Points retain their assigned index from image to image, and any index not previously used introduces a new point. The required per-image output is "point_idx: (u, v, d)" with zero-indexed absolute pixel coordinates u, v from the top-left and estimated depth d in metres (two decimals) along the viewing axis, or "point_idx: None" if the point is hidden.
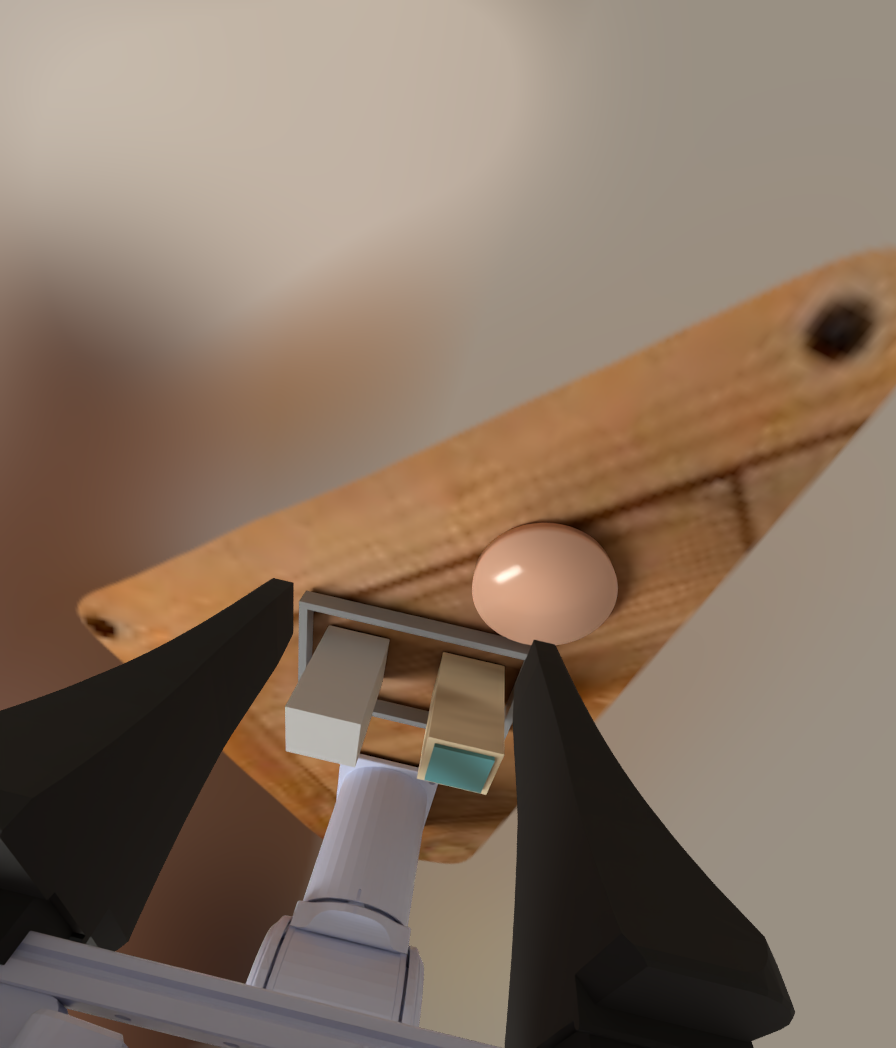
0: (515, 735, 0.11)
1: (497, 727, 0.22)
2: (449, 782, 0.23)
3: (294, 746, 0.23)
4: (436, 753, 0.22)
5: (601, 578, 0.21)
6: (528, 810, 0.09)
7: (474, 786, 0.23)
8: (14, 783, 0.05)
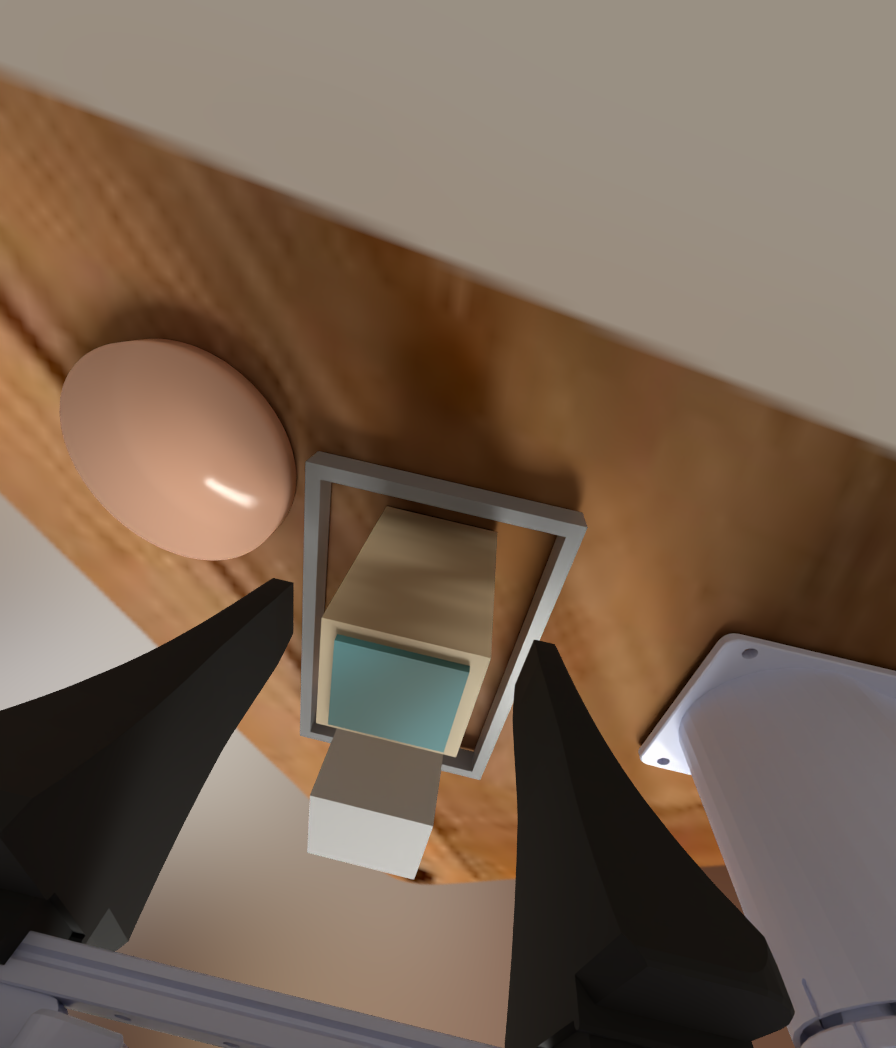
0: (515, 735, 0.11)
1: None
2: (441, 718, 0.10)
3: (398, 869, 0.15)
4: (347, 723, 0.11)
5: (104, 376, 0.12)
6: (528, 810, 0.09)
7: (443, 680, 0.10)
8: (14, 783, 0.05)
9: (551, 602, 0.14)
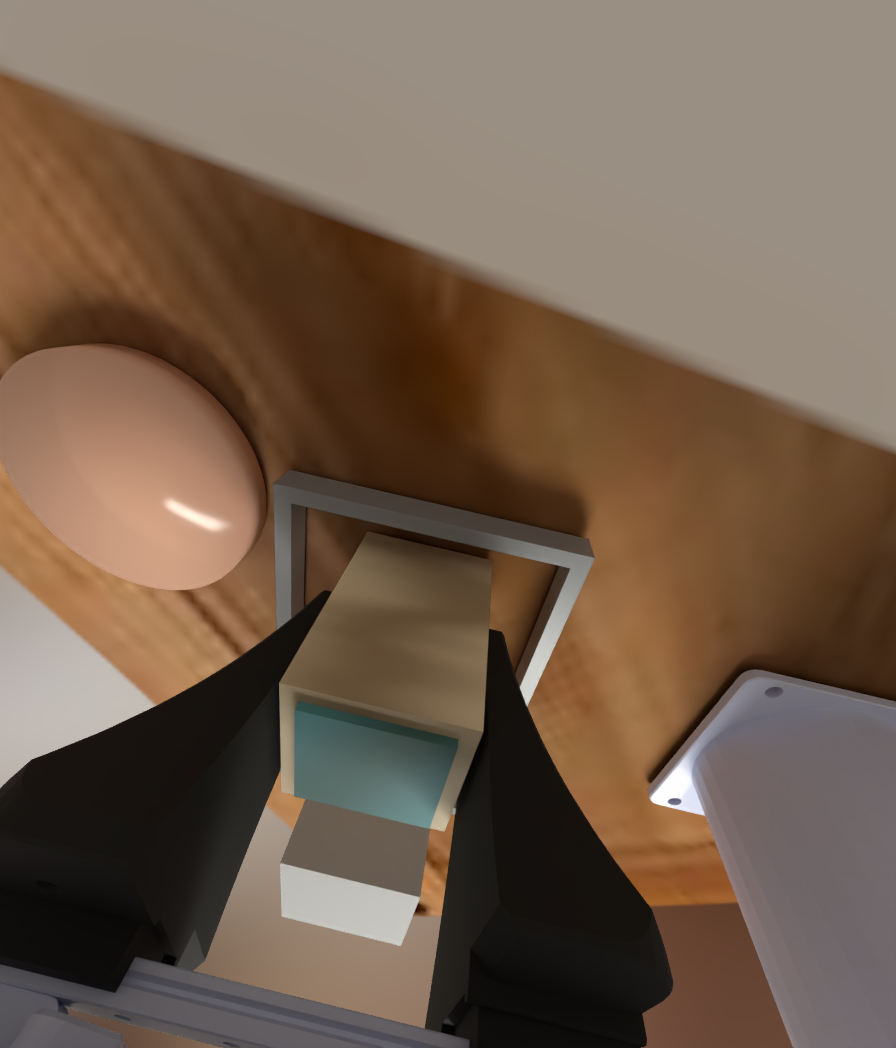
0: None
1: None
2: (425, 794, 0.09)
3: (383, 935, 0.13)
4: (316, 796, 0.09)
5: (39, 387, 0.11)
6: (462, 794, 0.09)
7: (427, 756, 0.08)
8: (130, 811, 0.05)
9: (553, 638, 0.13)
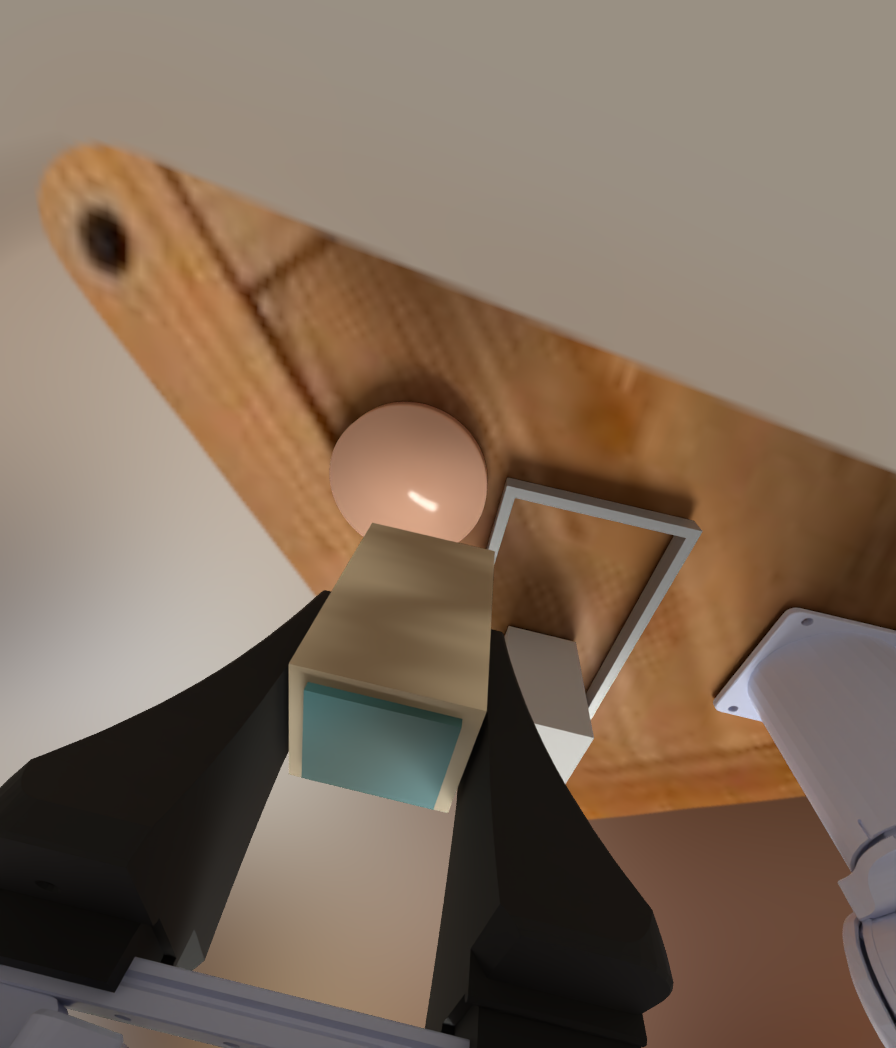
0: None
1: None
2: (429, 774, 0.09)
3: None
4: (323, 778, 0.10)
5: (375, 428, 0.18)
6: (463, 794, 0.09)
7: (432, 735, 0.08)
8: (130, 811, 0.05)
9: (667, 584, 0.20)
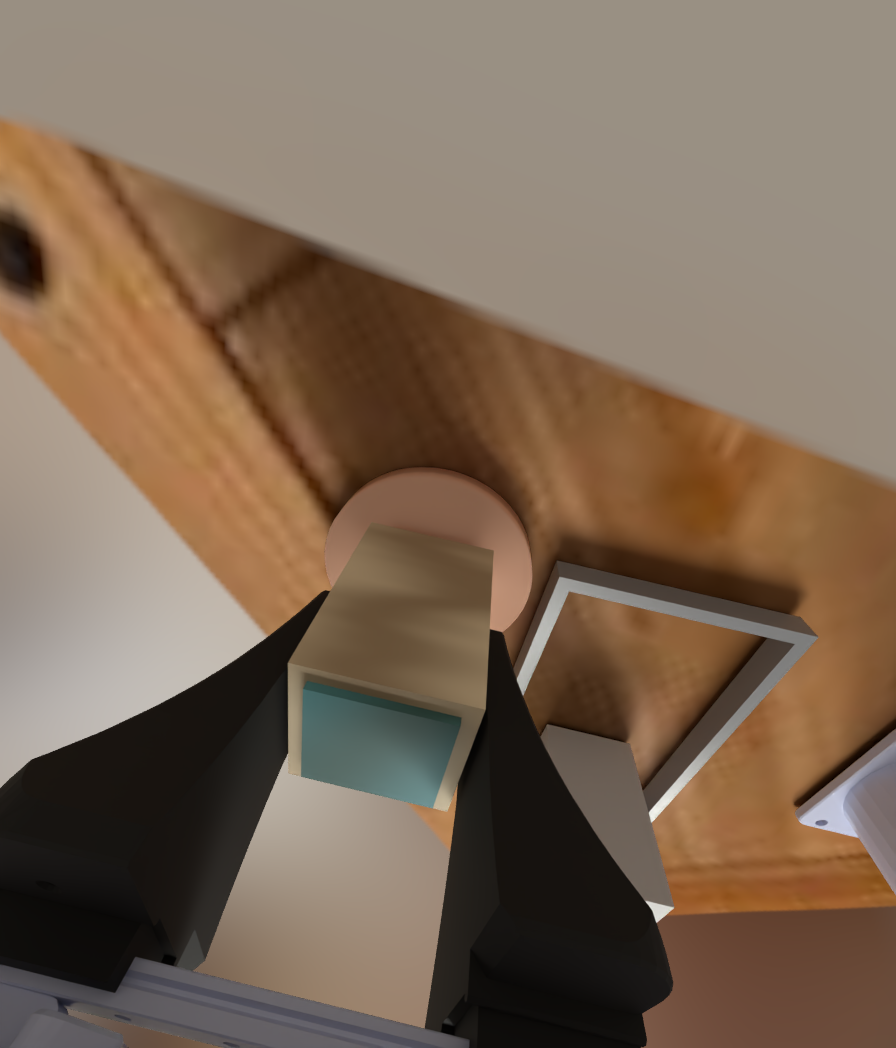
0: None
1: None
2: (429, 773, 0.09)
3: None
4: (323, 776, 0.10)
5: (386, 504, 0.14)
6: (463, 794, 0.09)
7: (431, 734, 0.08)
8: (130, 811, 0.05)
9: (762, 695, 0.16)
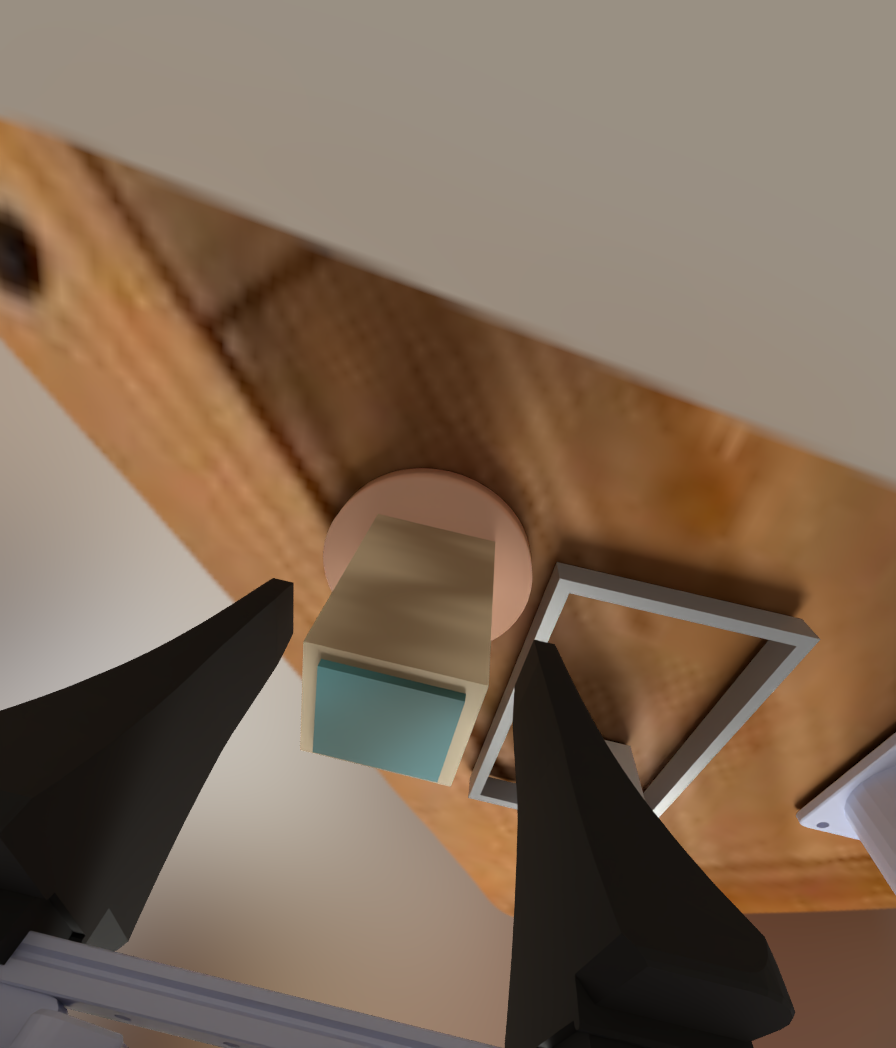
0: (515, 735, 0.11)
1: None
2: (434, 747, 0.10)
3: None
4: (334, 752, 0.10)
5: (385, 505, 0.14)
6: (528, 810, 0.09)
7: (437, 709, 0.09)
8: (14, 783, 0.05)
9: (763, 697, 0.16)
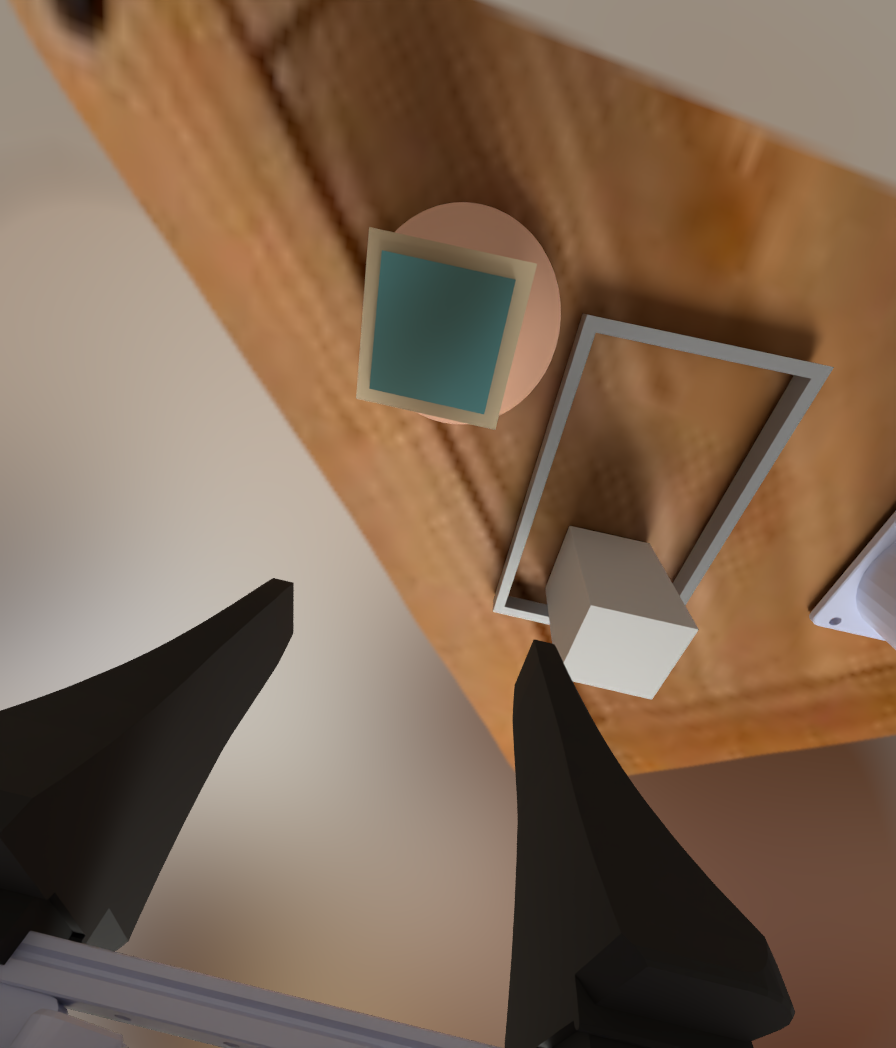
0: (515, 735, 0.11)
1: None
2: (484, 359, 0.11)
3: (641, 688, 0.17)
4: (389, 384, 0.11)
5: (423, 238, 0.14)
6: (528, 810, 0.09)
7: (489, 297, 0.10)
8: (14, 783, 0.05)
9: (779, 448, 0.16)
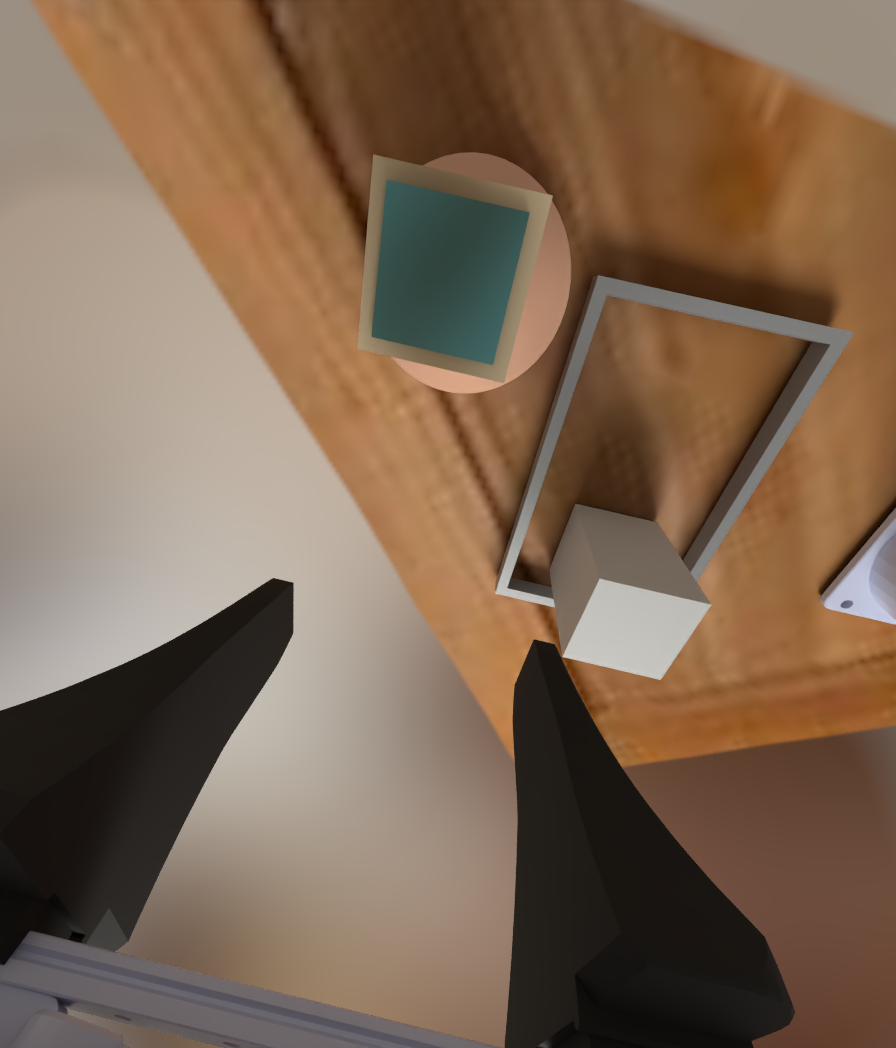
0: (515, 735, 0.11)
1: None
2: (494, 302, 0.10)
3: (650, 667, 0.16)
4: (393, 332, 0.10)
5: None
6: (528, 810, 0.09)
7: (501, 232, 0.09)
8: (14, 783, 0.05)
9: (794, 419, 0.16)
